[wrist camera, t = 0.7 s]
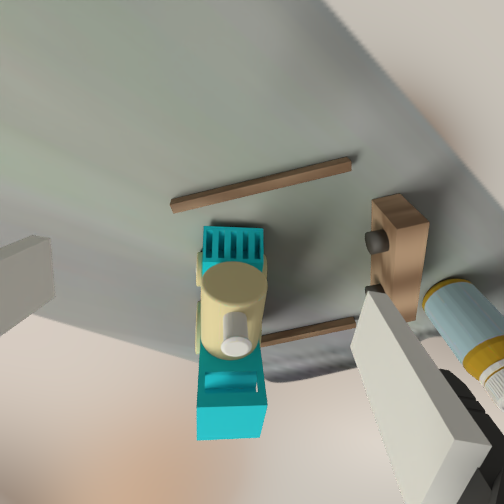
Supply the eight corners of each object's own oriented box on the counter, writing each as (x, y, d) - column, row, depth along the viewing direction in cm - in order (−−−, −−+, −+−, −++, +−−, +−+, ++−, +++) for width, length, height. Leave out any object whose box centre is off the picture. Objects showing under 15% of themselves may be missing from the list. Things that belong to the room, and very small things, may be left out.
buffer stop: (357, 203, 34) (379, 233, 29) (399, 193, 34) (429, 222, 29) (358, 293, 42) (376, 328, 38) (392, 286, 42) (415, 320, 37)
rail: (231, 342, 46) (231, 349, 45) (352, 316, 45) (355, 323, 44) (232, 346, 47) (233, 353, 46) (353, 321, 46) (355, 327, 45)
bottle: (417, 316, 46) (486, 420, 34) (423, 281, 42) (504, 386, 30) (465, 306, 46) (552, 408, 34) (475, 270, 42) (579, 372, 30)
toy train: (269, 224, 35) (295, 331, 23) (253, 324, 45) (266, 437, 33) (196, 221, 34) (184, 331, 22) (197, 324, 44) (189, 440, 32)
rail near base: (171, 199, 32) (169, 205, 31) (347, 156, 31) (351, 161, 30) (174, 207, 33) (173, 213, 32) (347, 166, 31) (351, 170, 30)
